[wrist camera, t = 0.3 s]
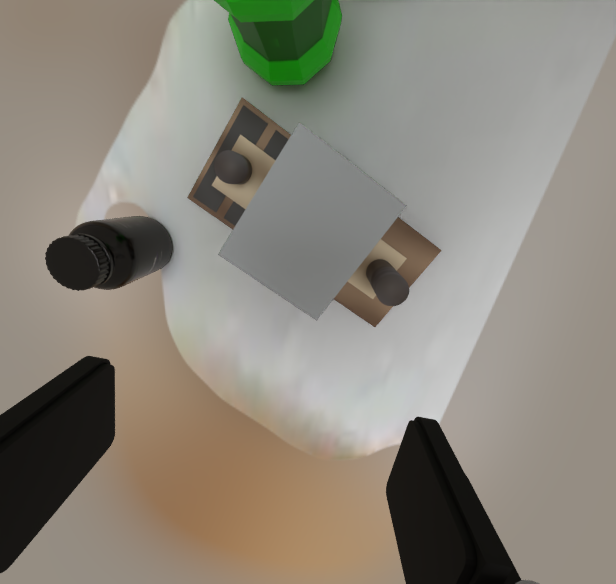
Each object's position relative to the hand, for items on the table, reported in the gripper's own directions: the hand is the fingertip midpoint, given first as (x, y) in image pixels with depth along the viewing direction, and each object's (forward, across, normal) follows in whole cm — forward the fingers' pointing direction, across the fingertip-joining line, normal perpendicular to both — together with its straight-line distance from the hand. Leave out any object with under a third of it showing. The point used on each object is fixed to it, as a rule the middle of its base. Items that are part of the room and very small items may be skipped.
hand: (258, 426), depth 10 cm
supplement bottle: (+29, +19, +2) cm, 35 cm away
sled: (+27, 0, -4) cm, 28 cm away
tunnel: (+28, 0, -4) cm, 28 cm away
